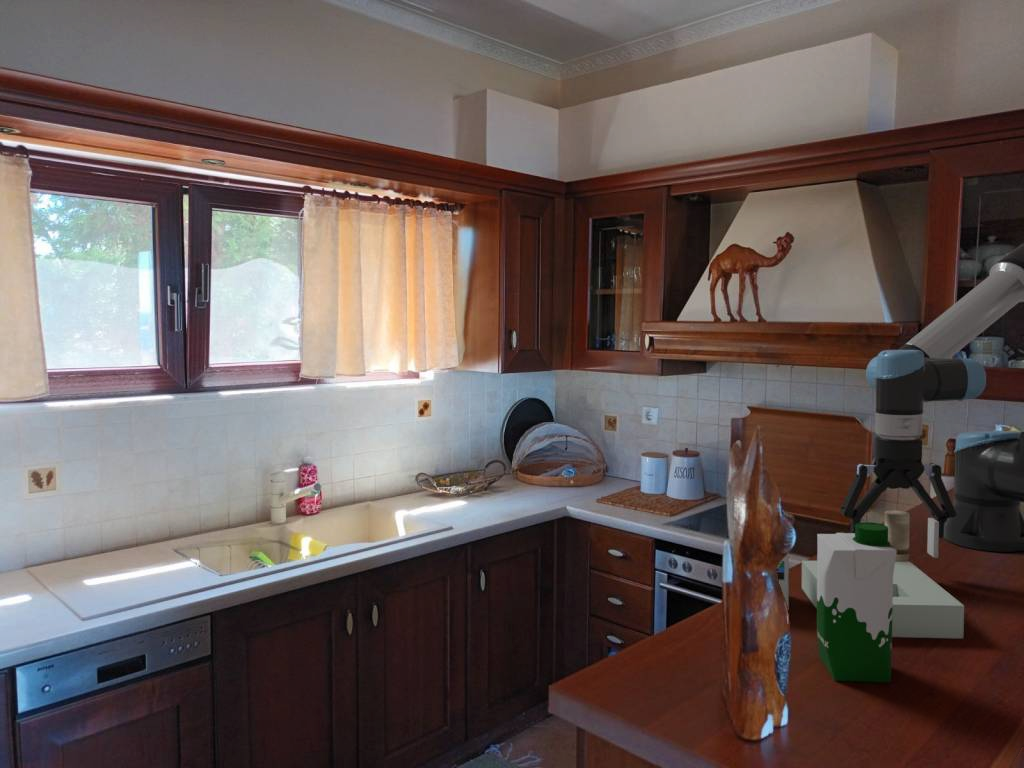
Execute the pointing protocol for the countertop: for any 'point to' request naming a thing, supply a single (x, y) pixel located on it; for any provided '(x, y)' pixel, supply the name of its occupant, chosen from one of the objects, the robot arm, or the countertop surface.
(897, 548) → the peg
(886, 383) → the robot arm
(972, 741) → the countertop surface
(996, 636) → the countertop surface
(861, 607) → the milk carton
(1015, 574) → the countertop surface
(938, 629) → the board
